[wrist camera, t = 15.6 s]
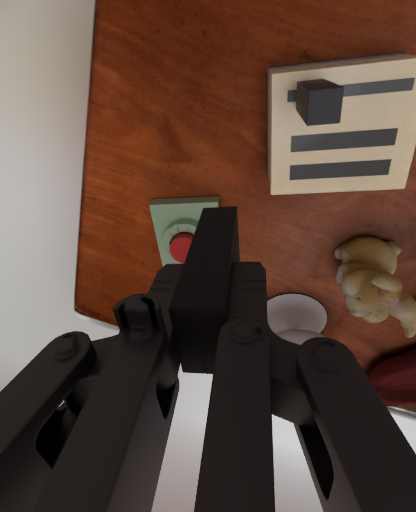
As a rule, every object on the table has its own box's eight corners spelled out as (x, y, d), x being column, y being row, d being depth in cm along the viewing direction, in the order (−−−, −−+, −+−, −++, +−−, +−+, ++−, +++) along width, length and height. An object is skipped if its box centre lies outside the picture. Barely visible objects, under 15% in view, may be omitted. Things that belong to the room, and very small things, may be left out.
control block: (153, 199, 46) (145, 210, 43) (219, 195, 45) (216, 207, 41) (167, 264, 53) (161, 279, 49) (225, 264, 51) (223, 278, 48)
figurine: (311, 259, 48) (330, 330, 36) (347, 215, 44) (382, 280, 31) (364, 284, 50) (399, 361, 37) (404, 244, 45) (460, 317, 32)
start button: (169, 232, 45) (166, 238, 43) (199, 231, 44) (197, 237, 43) (174, 257, 47) (172, 264, 46) (203, 257, 47) (201, 263, 45)
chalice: (239, 328, 59) (234, 401, 46) (276, 276, 51) (282, 348, 39) (303, 354, 60) (315, 432, 48) (349, 307, 53) (377, 386, 40)
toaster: (267, 67, 35) (269, 71, 29) (404, 52, 33) (442, 52, 26) (267, 174, 42) (269, 197, 35) (381, 167, 40) (407, 191, 33)
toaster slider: (296, 81, 29) (308, 90, 22) (324, 78, 28) (344, 86, 22) (295, 109, 30) (306, 126, 23) (321, 107, 29) (340, 123, 23)
